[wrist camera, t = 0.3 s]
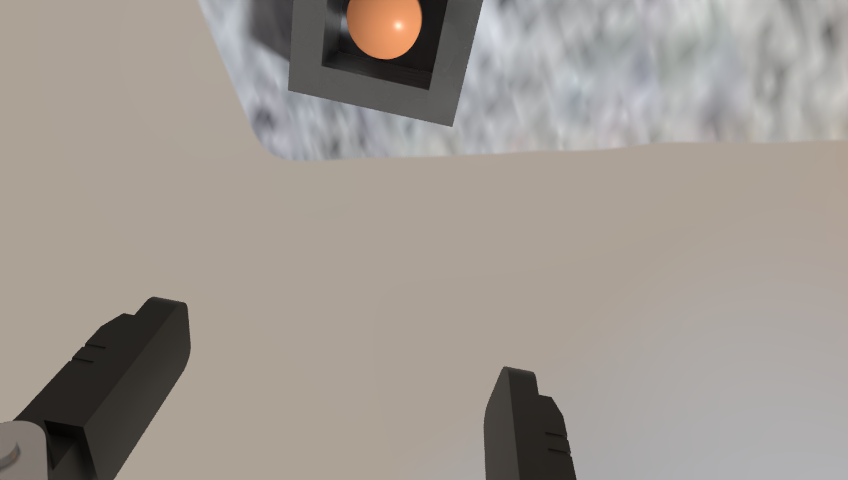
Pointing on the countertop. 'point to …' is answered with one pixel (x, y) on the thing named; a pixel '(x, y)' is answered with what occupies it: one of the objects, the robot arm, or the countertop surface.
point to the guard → (380, 64)
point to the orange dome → (384, 26)
